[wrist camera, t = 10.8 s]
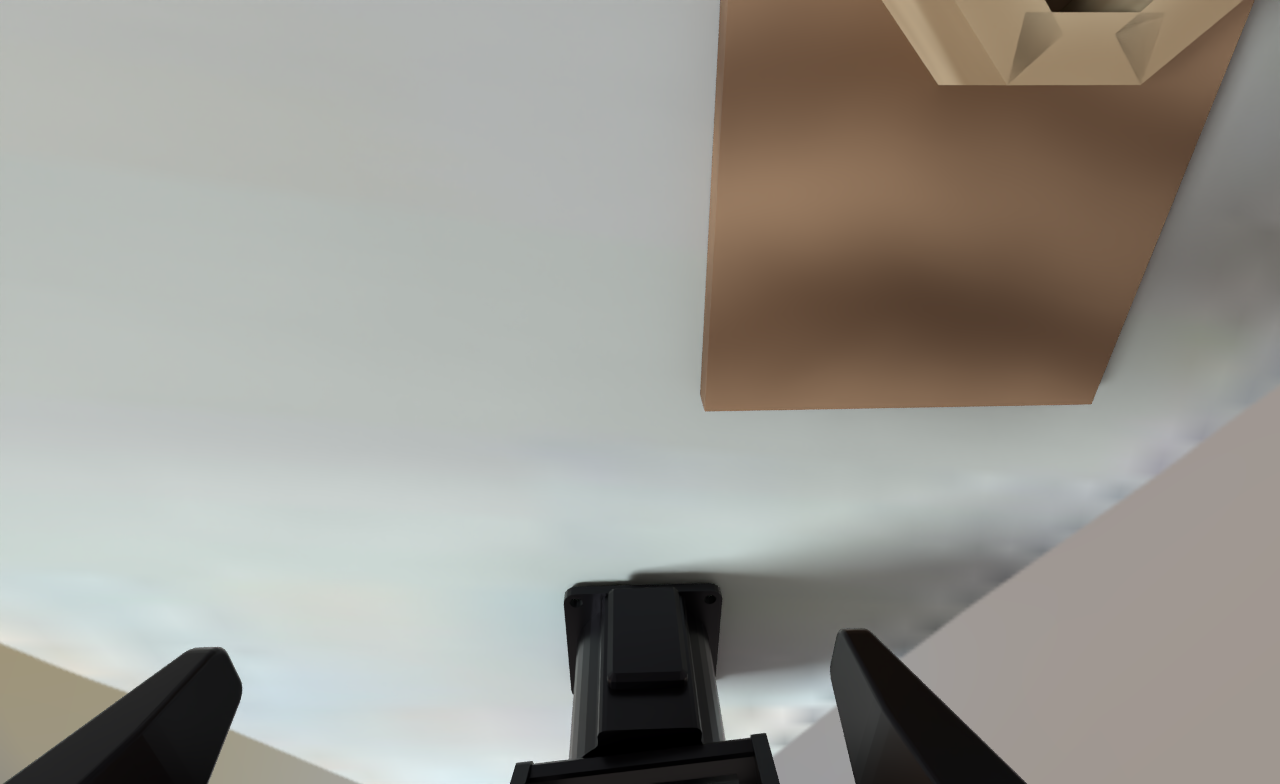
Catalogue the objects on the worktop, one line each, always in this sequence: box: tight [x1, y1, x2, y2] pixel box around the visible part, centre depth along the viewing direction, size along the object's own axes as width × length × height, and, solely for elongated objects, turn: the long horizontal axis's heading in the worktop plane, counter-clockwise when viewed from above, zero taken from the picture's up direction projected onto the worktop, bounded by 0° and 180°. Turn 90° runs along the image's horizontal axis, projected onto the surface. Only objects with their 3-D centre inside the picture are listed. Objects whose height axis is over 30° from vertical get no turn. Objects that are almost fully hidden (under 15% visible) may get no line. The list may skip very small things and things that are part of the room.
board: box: [700, 0, 1254, 411], centre depth 16 cm, size 18×13×1 cm
